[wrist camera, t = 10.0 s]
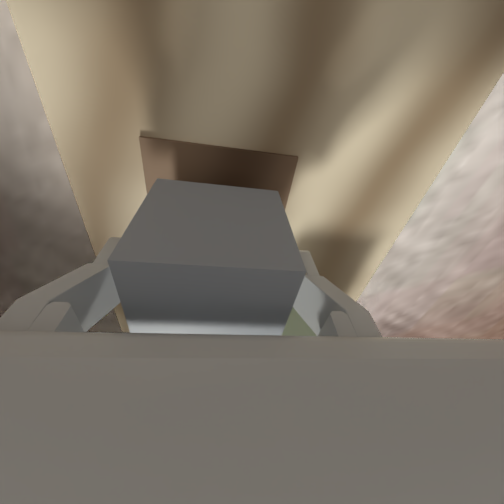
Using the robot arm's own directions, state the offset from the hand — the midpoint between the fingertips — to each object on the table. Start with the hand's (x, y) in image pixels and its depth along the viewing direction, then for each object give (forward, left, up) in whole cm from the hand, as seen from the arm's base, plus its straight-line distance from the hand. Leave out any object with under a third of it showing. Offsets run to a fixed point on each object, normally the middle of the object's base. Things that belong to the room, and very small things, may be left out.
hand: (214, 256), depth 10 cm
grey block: (0, 0, -2) cm, 2 cm away
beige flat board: (-2, 0, -5) cm, 5 cm away
